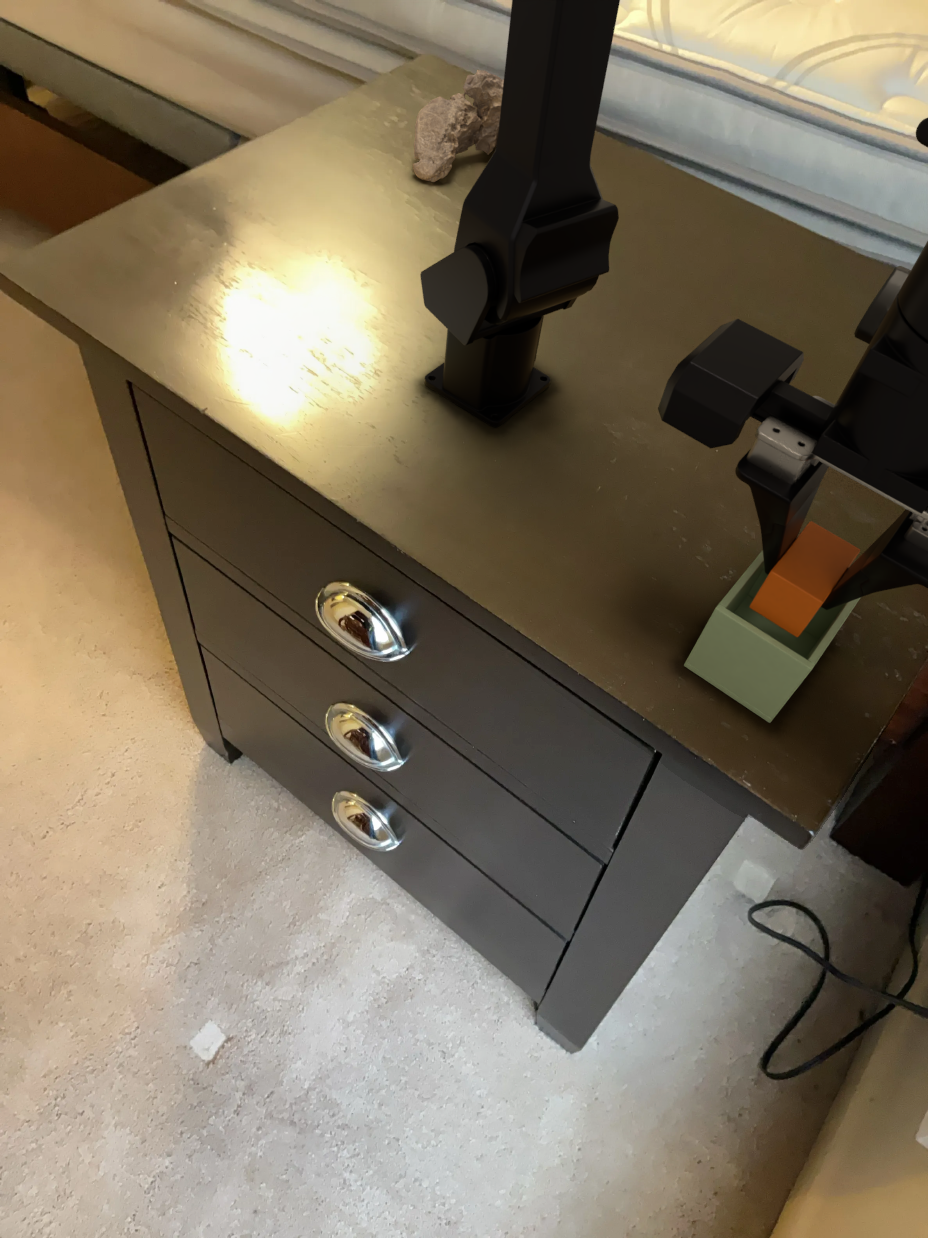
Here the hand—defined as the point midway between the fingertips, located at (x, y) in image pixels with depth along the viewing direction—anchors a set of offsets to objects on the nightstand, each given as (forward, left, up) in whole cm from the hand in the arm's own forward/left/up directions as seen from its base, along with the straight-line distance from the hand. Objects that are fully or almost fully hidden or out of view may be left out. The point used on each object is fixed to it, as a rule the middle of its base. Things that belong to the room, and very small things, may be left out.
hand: (799, 586), depth 44 cm
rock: (+31, +44, -6) cm, 54 cm away
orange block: (0, 0, -1) cm, 1 cm away
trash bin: (0, 0, -6) cm, 6 cm away
